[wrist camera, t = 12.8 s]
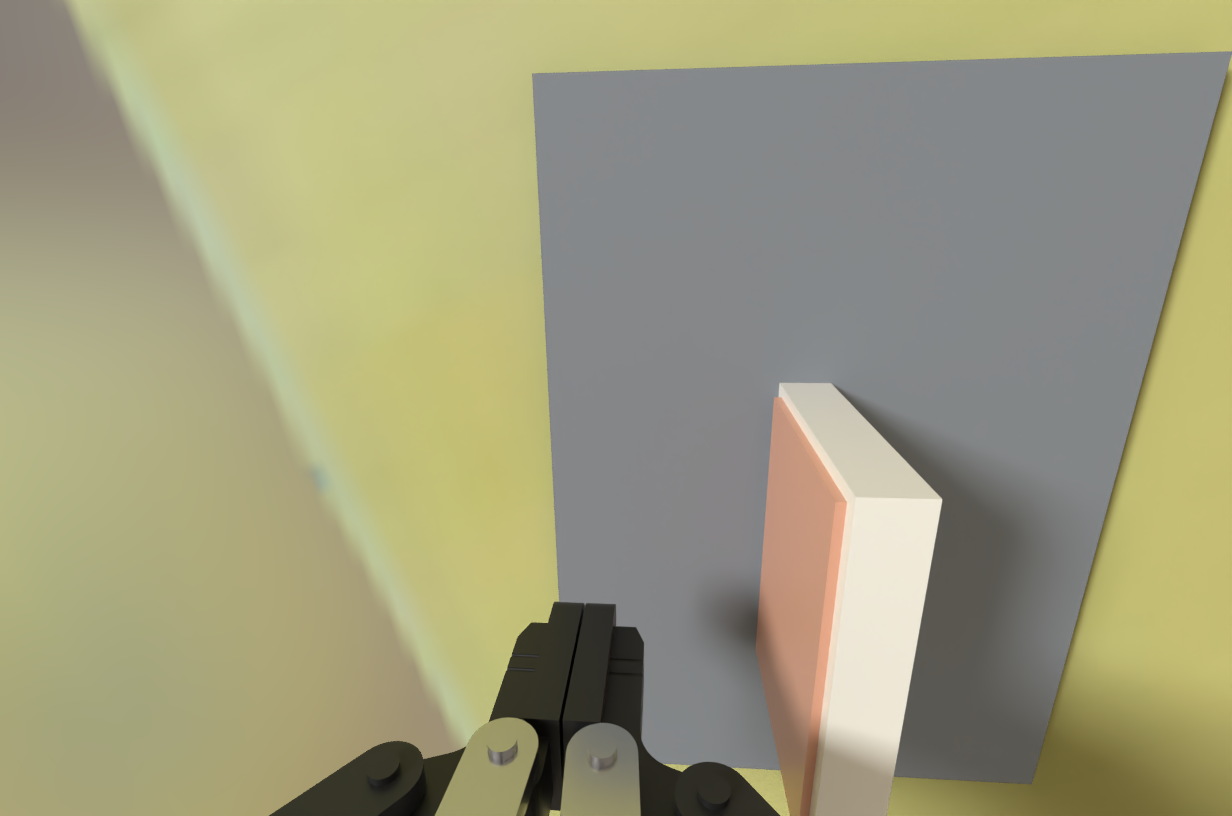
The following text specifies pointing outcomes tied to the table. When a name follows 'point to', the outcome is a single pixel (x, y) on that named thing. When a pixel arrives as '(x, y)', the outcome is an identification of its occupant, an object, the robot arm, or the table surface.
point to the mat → (856, 352)
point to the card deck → (839, 600)
